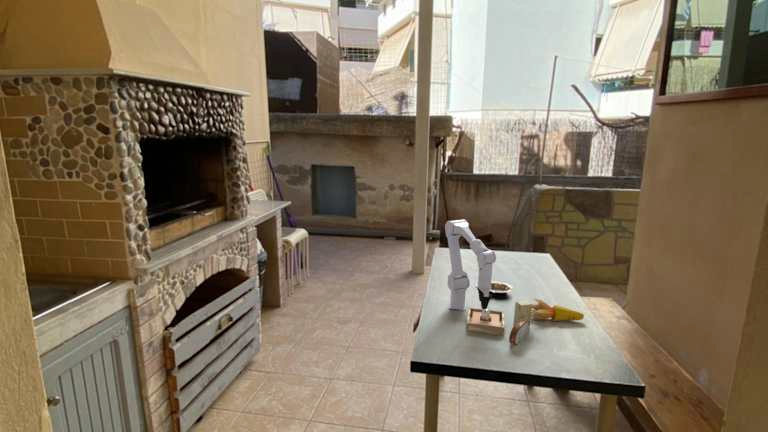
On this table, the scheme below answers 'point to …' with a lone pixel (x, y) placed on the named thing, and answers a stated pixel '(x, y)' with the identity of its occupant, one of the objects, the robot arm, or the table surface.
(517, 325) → the tin
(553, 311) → the yellow tapered piece
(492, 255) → the robot arm
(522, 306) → the skincare box
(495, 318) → the socket plate
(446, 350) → the table surface
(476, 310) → the open box
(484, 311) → the peg
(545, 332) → the table surface
